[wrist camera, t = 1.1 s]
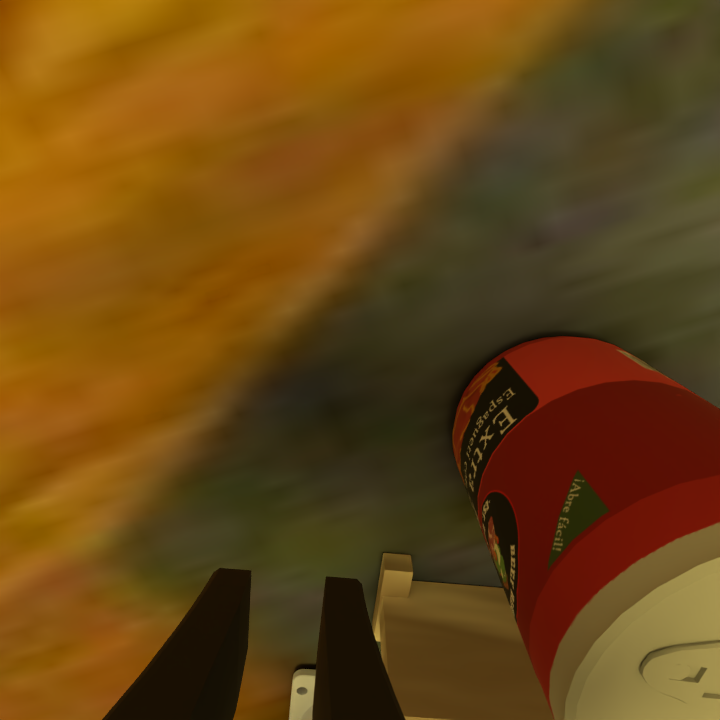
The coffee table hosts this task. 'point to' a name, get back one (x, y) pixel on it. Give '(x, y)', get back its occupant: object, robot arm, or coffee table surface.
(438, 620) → the light wooden block
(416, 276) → the coffee table surface
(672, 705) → the canned food
